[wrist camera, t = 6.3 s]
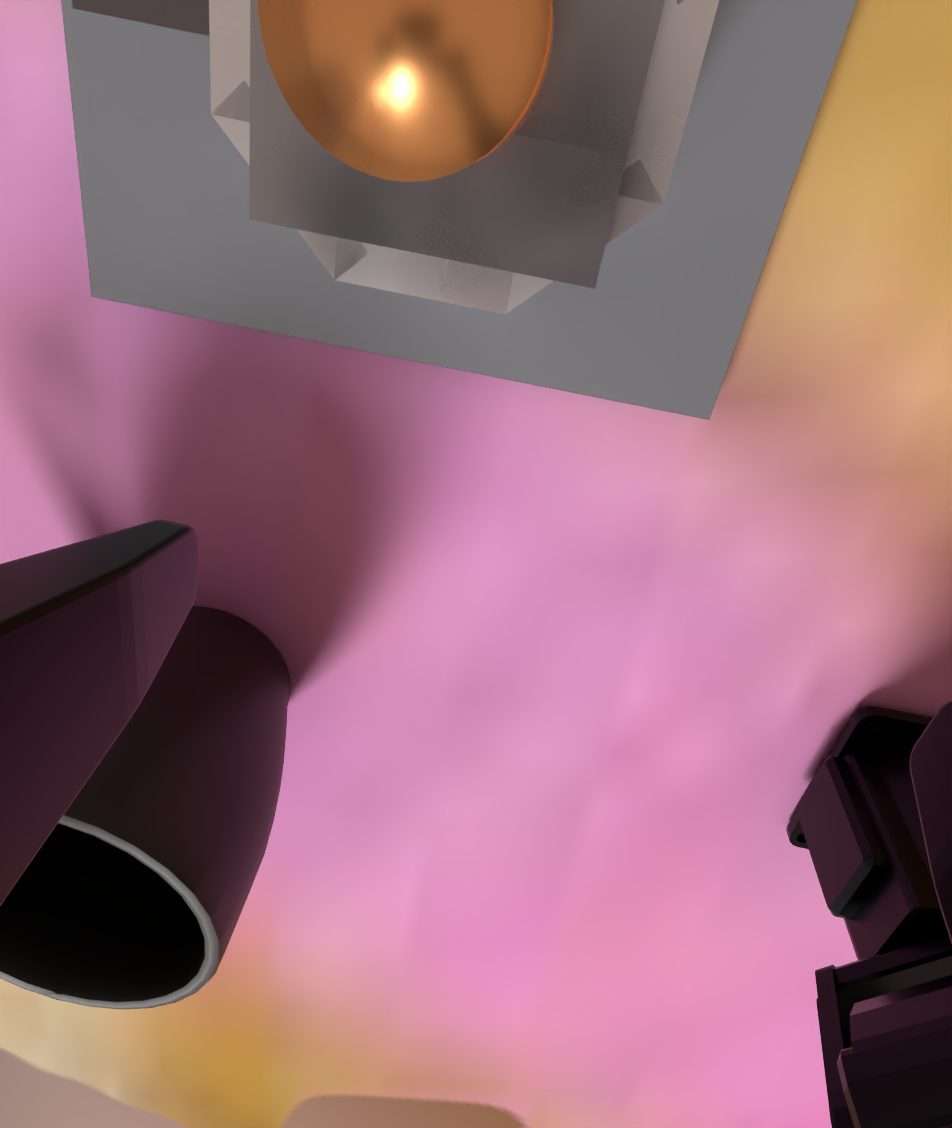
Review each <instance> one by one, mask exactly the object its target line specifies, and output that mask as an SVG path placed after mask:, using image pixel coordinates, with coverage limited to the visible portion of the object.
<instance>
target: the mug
mask: <svg viewBox="0 0 952 1128" xmlns="http://www.w3.org/2000/svg"><path fill="white" fill-rule="evenodd" d="M289 694H290V679H289V674H288V670H287V667H286V664H285V662H284V660H283V658H282V656H281V654H280V653H279V651H278V650H277V649H276V647H275V646H274V645H273V643H272V642H271V641H270V640H269V639H268V638H267V637H266V636H265V635H264V634H262V633H261V632H260V631H259V630H258V629H257V628H255V627H254V626H252V625H251V624H249V623H247V622H246V621H244V620H242V619H241V618H238V617H236V616H234V615H231V614H229V613H226V612H223V611H220V610H216V609H211V608H206V607H192V608H191V609H190V611H189V613H188V615H187V617H186V619H185V621H184V623H183V625H182V626H181V628H180V630H179V632H178V634H177V636H176V638H175V640H174V642H173V643H172V645H171V647H170V649H169V651H168V653H167V655H166V657H165V659H164V660H163V662H162V664H161V666H160V668H159V670H158V672H157V674H156V676H155V677H154V679H153V681H152V683H151V685H150V687H149V689H148V690H147V692H146V694H145V696H144V697H143V699H142V701H141V703H140V705H139V706H138V708H137V709H136V711H135V712H134V714H133V715H132V717H131V718H130V720H129V721H128V723H127V724H126V726H125V727H124V729H123V730H122V731H121V733H120V734H119V736H118V737H117V739H116V740H115V742H114V743H113V744H112V746H111V747H110V749H109V750H108V752H107V753H106V755H105V756H104V757H103V759H102V760H101V762H100V763H99V765H98V766H97V767H96V769H95V770H94V772H93V773H92V775H91V776H90V778H89V779H88V780H87V782H86V783H85V785H84V786H83V788H82V789H81V790H80V792H79V793H78V795H77V796H76V798H75V799H74V801H73V802H72V803H71V805H70V806H69V808H68V809H67V811H66V812H65V813H64V815H63V816H62V818H61V819H60V821H59V822H58V824H57V825H56V826H55V828H54V829H53V831H52V832H51V834H50V835H49V837H48V838H47V839H46V841H45V842H44V844H43V845H42V847H41V848H40V849H39V851H38V852H37V854H36V855H35V857H34V858H33V860H32V861H31V862H30V864H29V865H28V867H27V868H26V870H25V871H24V872H23V874H22V875H21V877H20V878H19V880H18V881H17V883H16V884H15V885H14V887H13V888H12V890H11V891H10V893H9V894H8V895H7V897H6V898H5V900H4V901H3V903H2V904H1V906H0V978H1V979H3V980H6V981H8V982H10V983H12V984H15V985H17V986H19V987H21V988H24V989H27V990H30V991H33V992H36V993H39V994H42V995H45V996H48V997H51V998H54V999H56V1000H62V1001H67V1002H71V1003H76V1004H81V1005H86V1006H91V1007H102V1008H112V1009H140V1008H153V1007H157V1006H162V1005H166V1004H171V1003H175V1002H178V1001H180V1000H182V999H184V998H186V997H188V996H190V995H192V994H194V993H196V992H197V991H198V990H199V989H200V988H202V987H203V986H204V985H205V984H206V983H207V982H208V981H209V980H210V979H211V978H212V977H213V976H214V974H215V973H216V971H217V969H218V966H219V964H220V962H221V960H222V957H223V955H224V953H225V950H226V948H227V945H228V943H229V941H230V938H231V936H232V933H233V931H234V928H235V926H236V923H237V921H238V919H239V916H240V914H241V911H242V909H243V906H244V904H245V901H246V899H247V897H248V894H249V892H250V889H251V887H252V884H253V882H254V879H255V877H256V874H257V872H258V869H259V866H260V864H261V861H262V859H263V856H264V854H265V850H266V846H267V843H268V839H269V835H270V832H271V828H272V824H273V821H274V816H275V811H276V806H277V801H278V796H279V791H280V785H281V778H282V770H283V763H284V751H285V738H286V723H287V705H288V700H289Z"/></svg>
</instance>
